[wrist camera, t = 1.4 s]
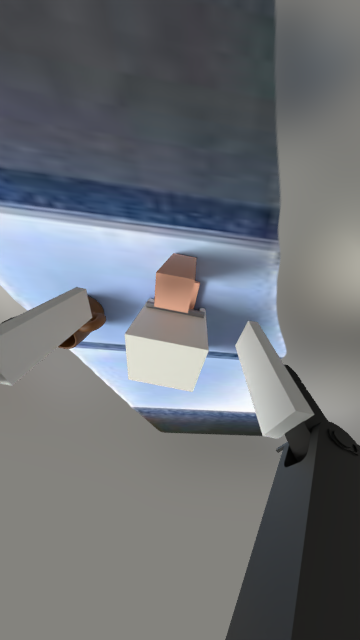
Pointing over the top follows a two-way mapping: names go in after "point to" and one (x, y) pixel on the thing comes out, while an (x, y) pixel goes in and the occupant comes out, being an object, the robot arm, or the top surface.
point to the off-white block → (167, 346)
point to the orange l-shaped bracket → (177, 284)
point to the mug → (86, 325)
